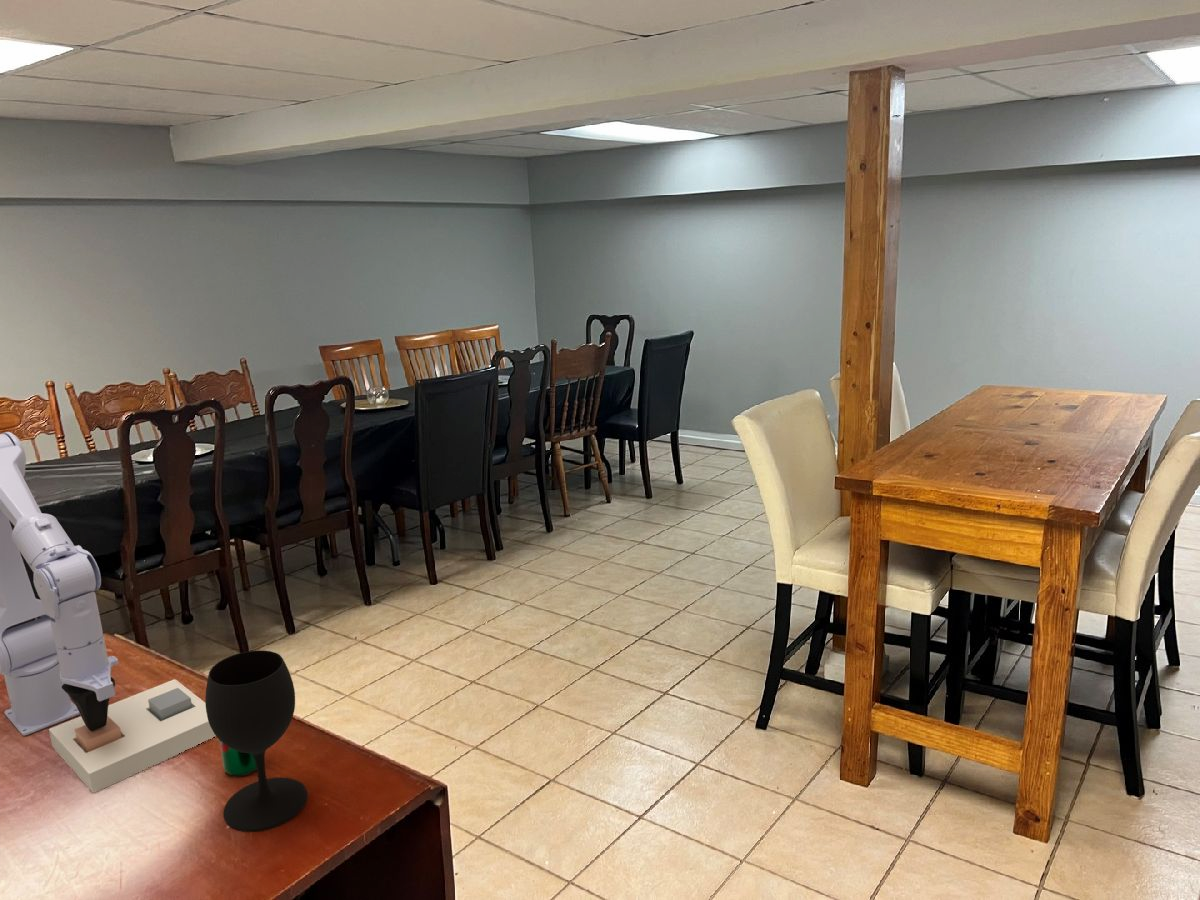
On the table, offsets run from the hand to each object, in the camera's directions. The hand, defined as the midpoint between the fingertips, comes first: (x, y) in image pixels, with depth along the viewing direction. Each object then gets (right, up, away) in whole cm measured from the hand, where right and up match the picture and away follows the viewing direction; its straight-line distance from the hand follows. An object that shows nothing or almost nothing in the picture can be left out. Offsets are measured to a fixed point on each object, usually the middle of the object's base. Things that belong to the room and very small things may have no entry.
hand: (96, 726), depth 123 cm
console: (+3, -4, +5) cm, 7 cm away
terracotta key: (0, -2, 0) cm, 2 cm away
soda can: (+21, -5, -2) cm, 22 cm away
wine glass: (+28, -7, -10) cm, 30 cm away
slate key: (+7, 0, +8) cm, 10 cm away
